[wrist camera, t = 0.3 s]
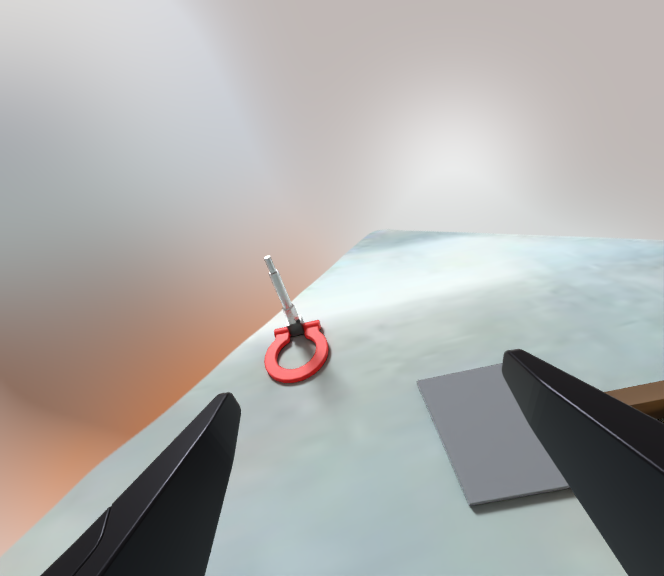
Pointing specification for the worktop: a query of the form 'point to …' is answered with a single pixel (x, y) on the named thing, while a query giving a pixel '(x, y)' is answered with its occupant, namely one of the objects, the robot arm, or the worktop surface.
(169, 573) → the robot arm
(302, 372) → the tow hook
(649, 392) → the holder frame
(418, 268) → the worktop surface
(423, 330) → the worktop surface
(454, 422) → the slate tile
